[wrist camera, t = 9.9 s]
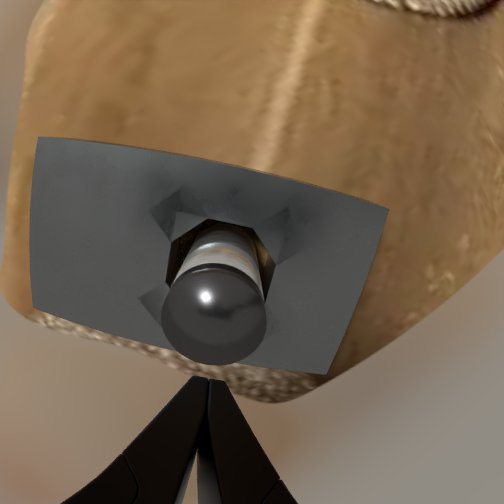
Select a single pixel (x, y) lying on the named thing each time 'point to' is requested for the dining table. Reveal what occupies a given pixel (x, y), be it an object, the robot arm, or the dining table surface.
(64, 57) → the dining table surface
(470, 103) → the dining table surface
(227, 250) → the metal cylinder peg
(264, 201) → the jig
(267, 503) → the robot arm
